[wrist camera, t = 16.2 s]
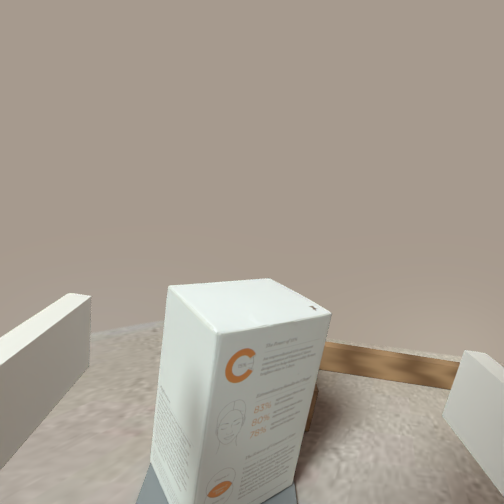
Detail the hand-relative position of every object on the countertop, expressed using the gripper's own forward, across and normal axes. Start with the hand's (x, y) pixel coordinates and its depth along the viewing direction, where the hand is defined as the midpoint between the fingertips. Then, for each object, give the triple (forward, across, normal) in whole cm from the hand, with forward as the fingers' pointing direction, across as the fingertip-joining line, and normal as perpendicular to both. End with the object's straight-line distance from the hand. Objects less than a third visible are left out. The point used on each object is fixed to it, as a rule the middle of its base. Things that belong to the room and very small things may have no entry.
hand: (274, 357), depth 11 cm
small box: (+8, -1, -14) cm, 16 cm away
